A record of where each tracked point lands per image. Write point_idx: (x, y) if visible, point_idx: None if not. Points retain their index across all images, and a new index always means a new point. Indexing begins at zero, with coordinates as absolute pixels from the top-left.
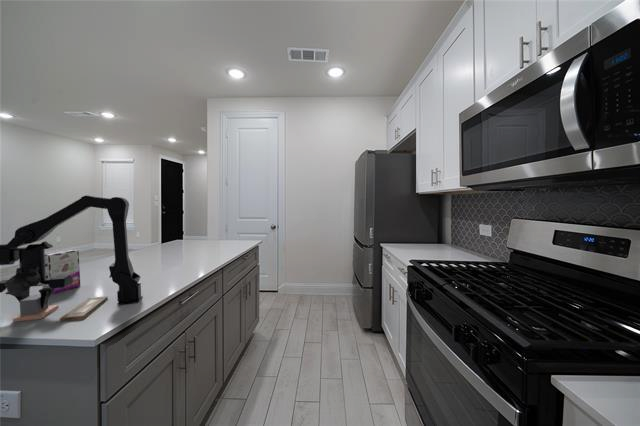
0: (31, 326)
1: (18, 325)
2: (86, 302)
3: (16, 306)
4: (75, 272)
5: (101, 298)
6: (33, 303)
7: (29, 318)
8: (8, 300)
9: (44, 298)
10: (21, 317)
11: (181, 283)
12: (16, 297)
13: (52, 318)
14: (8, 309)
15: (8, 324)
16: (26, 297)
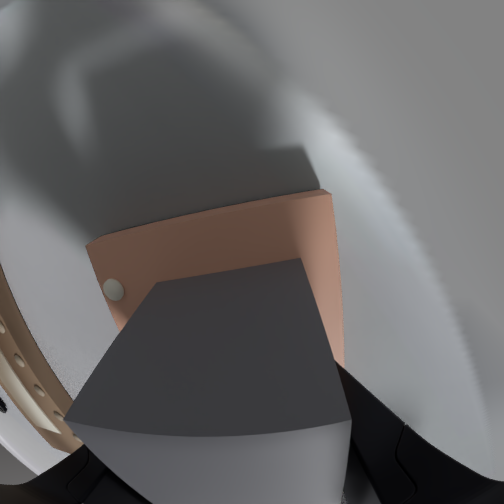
0: (63, 89)
1: (183, 97)
2: (52, 414)
3: (452, 425)
4: None
5: (47, 434)
6: (117, 369)
7: (177, 218)
8: (484, 442)
9: (79, 448)
10: (251, 214)
11: (14, 455)
12: (457, 474)
13: (41, 236)
14: (471, 398)
15: (315, 132)
16: (353, 498)
